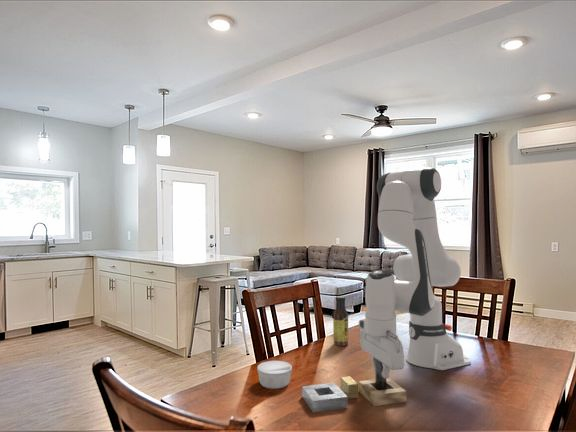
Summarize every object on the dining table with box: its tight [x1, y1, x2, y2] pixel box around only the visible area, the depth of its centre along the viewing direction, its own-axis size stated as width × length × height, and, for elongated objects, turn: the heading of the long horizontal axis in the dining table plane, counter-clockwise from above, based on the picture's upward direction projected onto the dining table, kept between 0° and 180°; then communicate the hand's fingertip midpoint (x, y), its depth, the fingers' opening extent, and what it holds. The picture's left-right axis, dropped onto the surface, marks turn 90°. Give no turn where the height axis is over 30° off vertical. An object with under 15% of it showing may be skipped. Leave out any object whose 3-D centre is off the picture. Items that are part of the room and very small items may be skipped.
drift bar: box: [340, 375, 359, 400], centre depth 116 cm, size 3×6×4 cm, turn 15°
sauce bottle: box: [332, 295, 349, 347], centre depth 165 cm, size 7×6×20 cm
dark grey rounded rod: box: [374, 358, 387, 390], centre depth 114 cm, size 3×3×10 cm
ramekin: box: [256, 360, 293, 390], centre depth 124 cm, size 11×11×5 cm
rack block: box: [358, 377, 407, 407], centre depth 114 cm, size 10×10×3 cm
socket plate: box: [301, 382, 349, 413], centre depth 111 cm, size 10×10×3 cm
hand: (381, 374), depth 114 cm, fingers closed on dark grey rounded rod, 3 cm apart
